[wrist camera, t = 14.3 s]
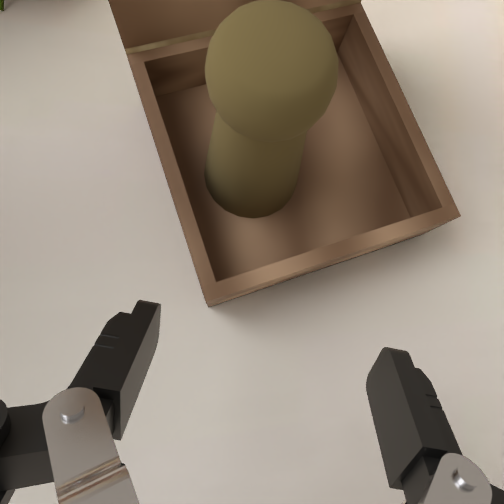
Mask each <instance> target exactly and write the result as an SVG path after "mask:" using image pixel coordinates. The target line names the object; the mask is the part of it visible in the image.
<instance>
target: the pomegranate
mask: <svg viewBox="0 0 504 504" xmlns="http://www.w3.org/2000/svg"><path fill="white" fill-rule="evenodd" d="M0 10H2V11H4V0H0Z"/></svg>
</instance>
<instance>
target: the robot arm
mask: <svg viewBox="0 0 504 504" xmlns="http://www.w3.org/2000/svg"><path fill="white" fill-rule="evenodd" d="M160 313H161V304H159V303H153V302H148V301H143V300H139V301H138V302H137V304H136V306H135V307H134V309H133V311H132V313H131V314H129V313H124V312H119V313H118V314H117V315H115V316H114V317H113V318H111V319H110V320H109V321H108V322H107V323H106V325H105V327H104V328H103V330H102V332H101V334H100V336H99V337H98V339H97V340H96V342H95V345H94V346H93V347H92V349H91V351H90V352H89V354H88V356H87V357H86V359H85V361H84V362H83V364H82V366H81V368H80V369H79V371H78V373H77V374H76V376H75V378H74V379H73V381H72V383H71V384H70V386H69V387H68V388H67V389H66V390H64V391H62V392H60V393H58V394H57V395H55V396H54V397H53V398H52V399H51V400H50V401H47V402H44V403H41V404H35V405H27V406H19V407H11V408H7V407H6V404H5V403H4V402H3V401H2V400H0V504H8V503H9V501H10V499H11V497H12V495H13V493H14V491H15V489H18V488H23V487H29V486H34V485H39V484H45V483H50V482H55V487H56V492H57V497H58V503H59V504H139V501H138V498H137V496H136V493H135V490H134V487H133V484H132V481H131V478H130V475H129V473H128V470H127V468H126V466H125V464H124V463H123V464H122V463H121V461H120V458H119V455H118V452H117V449H116V446H115V443H114V440H113V439H115V440H121V438H122V436H123V433H124V431H125V428H126V426H127V423H128V420H129V418H130V415H131V413H132V410H133V407H134V405H135V402H136V400H137V397H138V394H139V392H140V389H141V387H142V384H143V382H144V379H145V376H146V374H147V371H148V369H149V366H150V363H151V361H152V358H153V356H154V353H155V350H156V347H157V343H158V338H159V327H160ZM366 391H367V395H368V400H369V404H370V408H371V412H372V416H373V420H374V425H375V429H376V433H377V437H378V441H379V445H380V450H381V454H382V458H383V462H384V466H385V470H386V475H387V479H388V483H389V487H390V488H394V489H400V490H404V494H405V498H406V499H405V500H404V501H403V502H402V504H504V491H503V490H501V489H499V488H497V487H495V486H493V485H492V484H490V483H489V481H488V479H487V478H486V476H485V475H484V473H483V472H482V471H481V469H480V468H479V467H478V466H477V465H476V464H475V463H473V462H472V461H471V460H469V459H468V458H466V457H464V456H463V455H462V453H461V451H460V448H459V446H458V444H457V441H456V439H455V437H454V434H453V432H452V430H451V427H450V425H449V423H448V420H447V418H446V416H445V413H444V411H443V410H442V406H441V404H440V402H439V399H437V395H436V392H435V390H434V388H433V385H432V383H431V381H430V380H429V379H428V378H427V376H426V375H425V374H424V373H423V372H422V370H421V369H419V368H415V367H414V365H413V362H412V360H411V357H410V355H409V353H408V352H407V351H403V350H398V349H393V348H388V347H385V348H383V349H382V351H381V352H380V354H379V356H378V358H377V360H376V361H375V363H374V365H373V367H372V369H371V370H370V372H369V374H368V377H367V382H366Z"/></svg>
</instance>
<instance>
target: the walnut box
mask: <svg viewBox="0 0 504 504" xmlns="http://www.w3.org/2000/svg"><path fill="white" fill-rule="evenodd" d="M312 14H313V15H315V16H316V17H317V18H318V19H319V20H321V21H322V23H323V24H324V26H325V27H326V29H327V30H328V32H329V33H330V35H331V37H332V40H333V43H334V46H335V49H336V53H337V56H338V60H339V64H338V79H337V88H336V90H335V93H334V95H333V97H332V99H331V102H330V104H329V106H328V108H327V110H326V112H325V114H324V115H323V116H322V117H321V118H320V119H319V120H318V121H317V122H316V123H315V124H314V125H313V126H312V127H311V128H310V129H309V130H307V134H306V139H305V144H304V149H303V154H302V160H301V165H300V170H299V175H298V180H297V185H296V188H295V190H294V193H293V195H292V197H291V199H290V200H289V201H288V202H287V203H286V204H285V206H284V207H283V208H282V209H280V210H279V211H277V212H275V213H273V214H271V215H269V216H265V217H259V218H246V217H239V216H236V215H234V214H232V213H230V212H228V211H225V210H224V209H223V208H222V207H221V206H220V205H219V204H217V203H216V202H215V201H214V200H213V198H212V196H211V194H210V193H209V191H208V189H207V187H206V182H205V176H204V171H205V164H206V158H207V153H208V149H209V144H210V139H211V134H212V129H213V124H214V120H215V115H216V109H215V107H214V106H213V104H212V101H211V99H210V97H209V93H208V88H207V83H206V78H205V63H206V57H207V50H208V47H209V43H210V40H211V38H212V36H209V37H204V38H200V39H195V40H191V41H186V42H182V43H177V44H173V45H168V46H164V47H159V48H154V49H150V50H145V51H141V52H136V53H132V54H127V57H128V61H129V64H130V67H131V70H132V73H133V76H134V79H135V82H136V86H137V89H138V92H139V95H140V98H141V101H142V104H143V107H144V111H145V114H146V117H147V120H148V123H149V126H150V129H151V132H152V136H153V139H154V142H155V145H156V148H157V151H158V154H159V157H160V161H161V164H162V167H163V170H164V173H165V176H166V179H167V182H168V185H169V189H170V192H171V195H172V198H173V201H174V204H175V207H176V210H177V214H178V217H179V220H180V223H181V226H182V229H183V232H184V235H185V239H186V242H187V245H188V248H189V251H190V254H191V257H192V260H193V264H194V267H195V270H196V273H197V276H198V279H199V282H200V285H201V289H202V292H203V295H204V298H205V301H206V304H207V306H208V307H211V306H213V305H216V304H219V303H222V302H225V301H228V300H231V299H234V298H237V297H240V296H243V295H246V294H249V293H252V292H255V291H258V290H260V289H263V288H266V287H269V286H272V285H275V284H278V283H281V282H284V281H287V280H290V279H293V278H296V277H299V276H302V275H305V274H307V273H310V272H313V271H316V270H319V269H322V268H325V267H328V266H331V265H334V264H337V263H340V262H343V261H346V260H349V259H352V258H354V257H357V256H360V255H363V254H366V253H369V252H372V251H375V250H378V249H381V248H384V247H387V246H390V245H393V244H396V243H399V242H401V241H404V240H407V239H410V238H413V237H416V236H419V235H422V234H424V233H426V232H428V231H430V230H433V229H435V228H437V227H439V226H441V225H443V224H445V223H447V222H449V221H451V220H454V219H456V218H458V217H460V216H461V215H460V213H459V211H458V209H457V207H456V205H455V203H454V201H453V198H452V196H451V194H450V192H449V190H448V188H447V186H446V184H445V181H444V179H443V177H442V175H441V173H440V171H439V169H438V166H437V164H436V162H435V160H434V158H433V156H432V154H431V152H430V149H429V147H428V145H427V143H426V141H425V139H424V137H423V135H422V132H421V130H420V128H419V126H418V124H417V122H416V120H415V117H414V115H413V113H412V111H411V109H410V107H409V105H408V103H407V100H406V98H405V96H404V94H403V92H402V90H401V88H400V86H399V83H398V81H397V79H396V77H395V75H394V73H393V71H392V68H391V66H390V64H389V62H388V60H387V58H386V56H385V54H384V51H383V49H382V47H381V45H380V43H379V41H378V39H377V37H376V34H375V32H374V30H373V28H372V26H371V24H370V22H369V19H368V17H367V15H366V13H365V11H364V9H363V7H362V5H361V3H357V4H353V5H348V6H344V7H339V8H335V9H330V10H326V11H321V12H317V13H312Z"/></svg>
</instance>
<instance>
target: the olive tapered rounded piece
mask: <svg viewBox="0 0 504 504" xmlns="http://www.w3.org/2000/svg"><path fill="white" fill-rule="evenodd" d="M338 64H339V60H338V56H337V53H336V49H335V46H334V43H333V40H332V37H331V35H330V33H329V32H328V30H327V29H326V27H325V26H324V24H323V23H322V21H321V20H319V19H318V18H317V17H316V16H315V15H313V14H312V13H311V12H310V11H308V10H307V9H305V8H303V7H300V6H298V5H296V4H294V3H292V2H287V1H281V0H257V1H253V2H250V3H248V4H245V5H243V6H240V7H238V8H237V9H236V10H235V11H233V12H232V13H231V14H230V15H229V16H227V17H226V18H225V19H224V20H223V21H222V22H221V23H220V24H219V26H218V28H217V30H216V31H215V33H214V35H213V36H212V38H211V40H210V43H209V47H208V50H207V57H206V63H205V78H206V83H207V88H208V93H209V97H210V99H211V101H212V104H213V106H214V107H215V109H216V115H215V120H214V124H213V129H212V134H211V139H210V144H209V149H208V153H207V158H206V164H205V171H204V176H205V182H206V187H207V189H208V191H209V193H210V194H211V196H212V198H213V200H214V201H215V202H216V203H217V204H219V205H220V206H221V207H222V208H223V209H224V210H225V211H228V212H230V213H232V214H234V215H236V216H239V217H246V218H259V217H265V216H269V215H271V214H273V213H275V212H277V211H279V210H280V209H282V208H283V207H284V206H285V204H286V203H287V202H288V201H289V200H290V199H291V197H292V195H293V193H294V190H295V188H296V185H297V180H298V175H299V170H300V165H301V160H302V154H303V149H304V144H305V139H306V134H307V130H309V129H310V128H311V127H312V126H313V125H314V124H315V123H316V122H317V121H318V120H319V119H320V118H321V117H322V116H323V115H324V114H325V112H326V110H327V108H328V106H329V104H330V102H331V99H332V97H333V95H334V93H335V90H336V88H337V79H338Z"/></svg>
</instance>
